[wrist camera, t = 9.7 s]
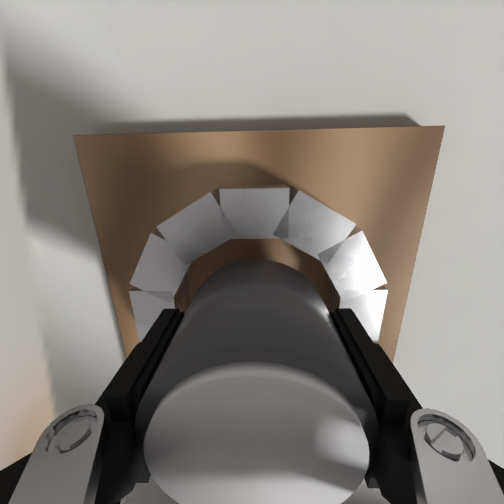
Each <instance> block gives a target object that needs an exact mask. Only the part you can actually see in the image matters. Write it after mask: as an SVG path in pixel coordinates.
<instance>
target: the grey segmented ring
mask: <svg viewBox="0 0 504 504" xmlns="http://www.w3.org/2000/svg"><path fill="white" fill-rule="evenodd" d="M270 238H280V239H282V240H284V241H285V242H287V243H289V244H291V245H293V246H295V247H296V248H298V249H300V250H302V251H304V252H305V253H307V254H309V255H311V256H313V257H315V258H316V259H318V260H319V261H320V263H321V265H322V267H323V269H324V270H325V272H326V274H327V276H328V288H327V299H326V308H327V310H328V312H329V314H330V313H331V312H335V309H336V308H351V309H352V310H353V312H354V313H355V315H356V316H357V318H358V319H359V321H360V322H361V324H362V326H363V327H364V329H365V330H366V332H367V333H368V335H369V336H370V338H371V339H372V341H378V339H379V334H380V329H381V323H382V318H383V313H384V307H385V302H386V297H387V291H388V290H387V289H386V288H385V287H384V286H383V284H385V283H387V282H386V280H385V278H384V275H383V273H382V271H381V269H380V267H379V265H378V263H377V261H376V258H375V256H374V254H373V252H372V250H371V248H370V246H369V244H368V241H367V239H366V237H365V235H364V233H363V231H362V230H361V229H359V228H358V227H356V224H355V223H354V222H352V221H350V220H349V219H347V218H345V217H344V216H342V215H340V214H339V213H337V212H335V211H334V210H332V209H330V208H329V207H327V206H325V205H323V204H322V203H320V202H318V201H317V200H315V199H313V198H311V197H310V196H308V195H306V194H305V193H303V192H301V191H300V190H298V189H296V188H294V187H293V186H292V187H291V189H290V188H289V187H288V186H286V185H285V184H269V185H226V186H224V187H222V188H221V189H219V188H217V189H215V190H213V191H211V192H209V193H208V194H206V195H205V196H203V197H202V198H200V199H199V200H197V201H195V202H194V203H192V204H191V205H189V206H188V207H186V208H185V209H183V210H181V211H180V212H178V213H177V214H175V215H174V216H172V217H171V218H169V219H167V220H166V221H164V222H163V223H161V224H160V225H158V226H157V229H156V230H155V231H153V232H152V233H151V234H150V236H149V239H148V241H147V243H146V246H145V248H144V250H143V253H142V255H141V258H140V260H139V262H138V265H137V267H136V270H135V272H134V274H133V277H132V279H131V281H130V285H133V286H134V287H133V288H132V289H130V290H129V294H130V299H131V304H132V308H133V313H134V318H135V322H136V327H137V332H138V336H139V340H143V339H144V337H145V336H146V334H147V333H148V331H149V330H150V328H151V327H152V325H153V324H154V322H155V321H156V319H157V318H158V316H159V315H160V313H161V312H162V310H163V309H179V310H180V312H183V313H184V315H185V313H186V311H187V309H188V307H189V299H188V290H187V282H186V278H187V276H188V274H189V272H190V270H191V268H192V266H193V264H194V262H195V260H196V259H197V258H199V257H201V256H202V255H204V254H206V253H208V252H209V251H211V250H213V249H214V248H216V247H218V246H220V245H221V244H223V243H225V242H226V241H228V240H230V239H270Z"/></svg>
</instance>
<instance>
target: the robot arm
mask: <svg viewBox="0 0 504 504" xmlns="http://www.w3.org/2000/svg"><path fill="white" fill-rule="evenodd" d="M183 317H184V313H183V312H180V310H179V309H163V310H162V312H161V313H160V315H159V316H158V318H157V319H156V321H155V322H154V324H153V325H152V327H151V328H150V330H149V331H148V333H147V334H146V336H145V337H144V339H143V340H142V342H139V343H138V344H137V345H136V346H135V347H134V349H133V350H132V351H131V353H130V354H129V356H128V357H127V359H126V360H125V362H124V363H123V364H122V366H121V367H120V369H119V370H118V372H117V373H116V375H115V376H114V378H113V379H112V380H111V382H110V383H109V385H108V386H107V388H106V389H105V391H104V392H103V393H102V395H101V396H100V398H99V399H98V401H97V402H96V404H95V405H91V404H88V405H81V406H78V407H76V408H73V409H71V410H69V411H67V412H65V413H64V414H62V415H60V416H59V417H58V418H57V419H55V420H54V421H53V422H52V423H51V424H50V425H49V426H48V427H47V428H46V429H45V430H44V432H43V433H42V435H41V436H40V438H39V440H38V442H37V444H36V446H35V448H34V450H33V452H32V453H30V454H28V455H27V456H25V457H23V458H22V459H20V460H18V461H17V462H15V463H13V464H12V465H10V466H8V467H6V468H5V469H3V470H1V471H0V504H126V499H127V494H129V493H130V492H131V491H132V490H133V488H134V486H135V483H148V481H149V478H150V476H151V474H150V472H149V470H148V467H147V465H146V462H145V460H144V459H143V457H142V455H141V453H140V450H139V448H138V445H137V441H136V436H135V419H136V412H137V410H138V407H139V404H140V401H141V399H142V397H143V395H144V393H145V392H146V390H147V388H148V386H149V384H150V382H151V380H152V378H153V376H154V374H155V372H156V370H157V368H158V366H159V364H160V362H161V360H162V358H163V356H164V354H165V352H166V350H167V348H168V346H169V344H170V342H171V340H172V338H173V336H174V334H175V332H176V330H177V328H178V326H179V325H180V323H181V321H182V319H183ZM330 317H331V319H332V321H333V323H334V325H335V327H336V329H337V331H338V333H339V336H340V338H341V340H342V342H343V344H344V346H345V348H346V350H347V352H348V355H349V357H350V359H351V361H352V363H353V365H354V367H355V369H356V372H357V374H358V376H359V378H360V380H361V382H362V384H363V386H364V388H365V391H366V393H367V395H368V397H369V399H370V401H371V403H372V405H373V408H374V410H375V413H376V416H377V419H378V424H379V444H378V448H377V452H376V455H375V457H374V459H373V461H372V463H371V465H370V467H369V468H368V470H367V472H366V474H365V476H364V478H365V481H366V484H367V487H368V488H380V491H381V494H382V496H383V497H384V498H385V499H386V500H387V501H389V503H390V504H504V469H503V468H501V467H500V466H498V465H496V464H495V463H493V462H491V461H490V460H488V459H487V457H486V454H485V452H484V450H483V448H482V446H481V444H480V443H479V441H478V440H477V438H476V437H475V436H474V435H473V433H472V432H471V431H470V430H469V429H468V428H467V427H465V426H464V425H463V424H462V423H460V422H459V421H458V420H456V419H455V418H453V417H451V416H449V415H448V414H446V413H443V412H440V411H438V410H433V409H428V408H426V409H423V408H422V407H421V405H420V404H419V402H418V401H417V399H416V398H415V396H414V395H413V393H412V392H411V390H410V389H409V387H408V386H407V384H406V383H405V381H404V380H403V378H402V377H401V375H400V374H399V372H398V371H397V369H396V368H395V366H394V365H393V363H392V362H391V360H390V359H389V358H388V356H387V355H386V353H385V352H384V350H383V349H382V347H381V346H380V345H379V344H378V343H373V341H372V339H371V338H370V336H369V335H368V333H367V332H366V330H365V329H364V327H363V326H362V324H361V322H360V321H359V319H358V318H357V316H356V315H355V313H354V312H353V310H352V309H351V308H336V309H335V312H331V313H330Z"/></svg>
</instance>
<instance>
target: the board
mask: <svg viewBox="0 0 504 504" xmlns="http://www.w3.org/2000/svg"><path fill="white" fill-rule="evenodd" d="M444 128H445V126H414V127H376V128H337V129H299V130H260V131H222V132H183V133H145V134H106V135H73V137H74V141H75V145H76V149H77V154H78V158H79V162H80V166H81V170H82V174H83V179H84V183H85V187H86V191H87V195H88V199H89V203H90V208H91V212H92V216H93V220H94V224H95V228H96V232H97V237H98V241H99V245H100V249H101V253H102V257H103V261H104V266H105V270H106V274H107V278H108V282H109V286H110V290H111V295H112V299H113V303H114V307H115V311H116V315H117V319H118V324H119V328H120V332H121V336H122V340H123V344H124V348H125V353H126V357H128V356H129V354H130V353H131V351H132V350H133V349H134V347H135V346H136V345H137V344H138V343H139V342H142V340H139V336H138V332H137V327H136V322H135V318H134V313H133V308H132V304H131V299H130V294H129V290H130V289H132V288H133V287H134V286H133V285H130V281H131V279H132V277H133V274H134V272H135V270H136V267H137V265H138V262H139V260H140V258H141V255H142V253H143V250H144V248H145V246H146V243H147V241H148V239H149V236H150V234H151V233H152V232H153V231H155V230H156V229H157V226H158V225H160V224H161V223H163V222H164V221H166V220H167V219H169V218H171V217H172V216H174V215H175V214H177V213H178V212H180V211H181V210H183V209H185V208H186V207H188V206H189V205H191V204H192V203H194V202H195V201H197V200H199V199H200V198H202V197H203V196H205V195H206V194H208V193H209V192H211V191H213V190H215V189H217V188H219V189H221V188H222V187H224V186H226V185H269V184H285V185H286V186H288V187H289V188H290V189H291V187H292V186H293V187H294V188H296V189H298V190H300V191H301V192H303V193H305V194H306V195H308V196H310V197H311V198H313V199H315V200H317V201H318V202H320V203H322V204H323V205H325V206H327V207H329V208H330V209H332V210H334V211H335V212H337V213H339V214H340V215H342V216H344V217H345V218H347V219H349V220H350V221H352V222H354V223H355V224H356V227H358V228H359V229H361V230H362V231H363V233H364V235H365V237H366V239H367V241H368V244H369V246H370V248H371V250H372V252H373V254H374V256H375V258H376V261H377V263H378V265H379V267H380V269H381V271H382V273H383V275H384V278H385V280H386V282H387V283H385V284H383V286H384V287H385V288H386V289H387V290H388V291H387V297H386V302H385V307H384V313H383V318H382V323H381V329H380V334H379V339H378V341H373V343H378V344H379V345H380V346H381V347H382V349H383V350H384V352H385V353H386V355H387V356H388V358H389V359H390V360H391V362H392V363H393V360H394V355H395V351H396V346H397V342H398V337H399V332H400V328H401V323H402V319H403V314H404V310H405V305H406V301H407V296H408V292H409V287H410V283H411V278H412V273H413V269H414V264H415V260H416V255H417V251H418V246H419V242H420V237H421V233H422V228H423V223H424V219H425V214H426V210H427V205H428V201H429V196H430V192H431V187H432V183H433V178H434V173H435V169H436V164H437V160H438V155H439V151H440V146H441V142H442V137H443V133H444ZM251 259H264V260H271V261H275V262H279V263H283V264H285V265H287V266H290V267H292V268H294V269H295V270H297V271H299V272H300V273H302V274H303V275H304V276H306V277H307V278H308V279H309V280H310V281H311V282H312V283H313V285H314V286H315V287H316V289H317V290H318V292H319V294H320V296H321V297H322V300H323V302H324V304H325V306H326V299H327V288H328V276H327V274H326V272H325V270H324V269H323V267H322V265H321V263H320V261H319V260H318V259H316V258H315V257H313V256H311V255H309V254H307V253H305V252H304V251H302V250H300V249H298V248H296V247H295V246H293V245H291V244H289V243H287V242H285V241H284V240H282V239H280V238H270V239H230V240H228V241H226V242H225V243H223V244H221V245H220V246H218V247H216V248H214V249H213V250H211V251H209V252H208V253H206V254H204V255H202V256H201V257H199V258H197V259H196V260H195V262H194V264H193V266H192V268H191V270H190V272H189V274H188V276H187V278H186V282H187V290H188V299H189V305H190V303H191V301H192V299H193V297H194V295H195V293H196V291H197V290H198V288H199V287H200V285H201V284H202V283H203V282H204V280H206V279H207V278H208V277H209V276H210V275H211V274H212V273H214V272H215V271H217V270H218V269H220V268H222V267H224V266H226V265H229V264H232V263H234V262H238V261H243V260H251Z"/></svg>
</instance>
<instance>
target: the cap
mask: <svg viewBox="0 0 504 504" xmlns="http://www.w3.org/2000/svg"><path fill="white" fill-rule="evenodd" d="M135 436H136V441H137V445H138V448H139V450H140V453H141V455H142V457H143V459H144V460H145V462H146V465H147V467H148V470H149V472H150V474H151V476H152V477H153V479H154V480H155V482H156V483H157V484H158V485H159V487H160V488H161V489H162V490H163V491H164V492H165V493H166V494H167V495H168V496H169V497H171V498H172V499H173V500H175V501H176V502H177V503H179V504H341V503H342V502H344V501H345V500H346V499H347V498H349V497H350V496H351V495H352V494H353V493H354V491H355V490H356V489H357V488H358V486H359V485H360V484H361V482H362V480H363V478H364V476H365V474H366V472H367V470H368V468H369V467H370V465H371V463H372V461H373V459H374V457H375V455H376V452H377V448H378V444H379V424H378V419H377V416H376V413H375V410H374V408H373V405H372V403H371V401H370V399H369V397H368V395H367V393H366V391H365V388H364V386H363V384H362V382H361V380H360V378H359V376H358V374H357V372H356V369H355V367H354V365H353V363H352V361H351V359H350V357H349V355H348V352H347V350H346V348H345V346H344V344H343V342H342V340H341V338H340V336H339V333H338V331H337V329H336V327H335V325H334V323H333V321H332V319H331V317H330V314H329V312H328V310H327V308H326V306H325V304H324V302H323V300H322V297H321V296H320V294H319V292H318V290H317V289H316V287H315V286H314V285H313V283H312V282H311V281H310V280H309V279H308V278H307V277H306V276H304V275H303V274H302V273H300V272H299V271H297V270H295V269H294V268H292V267H290V266H287V265H285V264H283V263H279V262H275V261H271V260H264V259H251V260H243V261H238V262H234V263H232V264H229V265H226V266H224V267H222V268H220V269H218V270H217V271H215V272H214V273H212V274H211V275H210V276H209V277H208V278H207V279H206V280H204V282H203V283H202V284H201V285H200V287H199V288H198V290H197V291H196V293H195V295H194V297H193V299H192V301H191V303H190V305H189V307H188V309H187V311H186V313H185V315H184V317H183V319H182V321H181V323H180V325H179V326H178V328H177V330H176V332H175V334H174V336H173V338H172V340H171V342H170V344H169V346H168V348H167V350H166V352H165V354H164V356H163V358H162V360H161V362H160V364H159V366H158V368H157V370H156V372H155V374H154V376H153V378H152V380H151V382H150V384H149V386H148V388H147V390H146V392H145V393H144V395H143V397H142V399H141V401H140V404H139V407H138V410H137V412H136V419H135Z"/></svg>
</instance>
